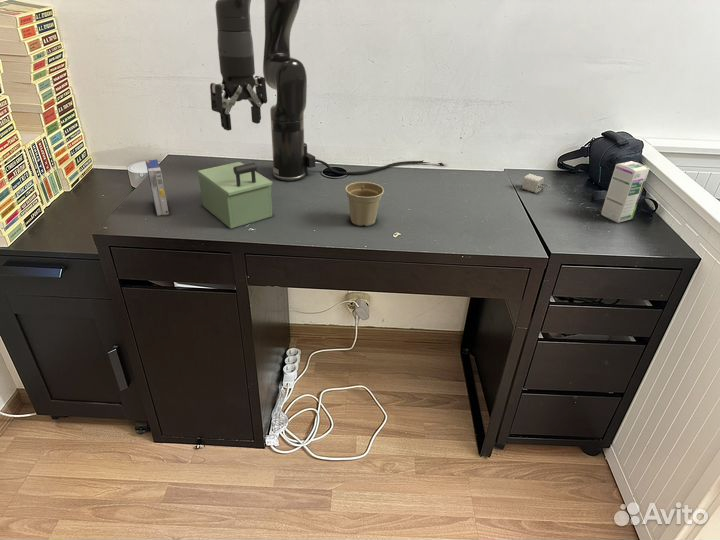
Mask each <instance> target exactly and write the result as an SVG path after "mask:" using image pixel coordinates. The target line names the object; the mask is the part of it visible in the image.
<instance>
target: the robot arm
mask: <svg viewBox="0 0 720 540" xmlns="http://www.w3.org/2000/svg"><path fill="white" fill-rule="evenodd" d="M263 2H264V3H263V4H264V46H263V59H262V74H263V76H261V75H255V74H256V69H255V67H256V66H255V54H254V53H255V52H254V40H253V35H252V27H251V25H252V24H251V12H250V10H251V3H252V0H216V1H215V5H214V7H215V9H214V10H215V18H216V28H217V36H216V37H217V50H218V62H219V63H218V64H219V71H220V75H221V77H222V81H221V83H214V82H211V83H210V85H209V91H210V106H211V111H213V112H215V113H219V117H220V125H221V128H222V129H223V130H225V131H227V132H229V131H232V119H231V114H230V112H231V110H232V109H233V107H234V106H235V105H236V102H241V101H248V102H249V103H250V105H251V106H250V113H251V114H250V115H251V122H252V123H253V124H256V125H257V124H260V123H261V120H262V113H261V108H262V106H263V104H267V103H268V95H267V93H268V92H267V86H268V87H269V88H271V89H272V90H275V91H276V103H275V104H273V105H272V106H271V107H270V109H269V110H270V111H269V114H270V116H269V117H270V133H271V149H272V172H273V173H272V175H273V177H274V178H275V179H277V180H279V181H284V182H293V181H298V180H301V179H304V178H305V176H308V175H309V171H308V169H312V168H315V167H316V163H319V164H322V165H323V166H325V167H326V168H327V169H328V170H329V171H330V172H332V173H335V174H337V175H345V176H349V175H350V176H352V175H365V174H369V173H373V172H378V171H381V170H385V169H388V168H391V167H394V166H399V165H408V164H412V165H413V164H428V163H429V162H423V161H424V160H405V161H397V162H392V163H389V164H386V165H383V166H380V167H375V168H371V169H367V170H360V171H339V170H336V169H333V168H332V167H331V166H330V165H329V164H328V163H327V162H325V161H323V160H321V159H316V155H313V154H311V153H309V152H308V144H307V143H306V142H305V122H304V121H305V119H304V118H305V117H304V116H305V115H304V113H305V110H306V108H307V107H306V106H307V97H308V96H307V95H308V94H307V92H308V77H307V76H308V75H307V70H306V67H305V66H304V64H303V62H302V61H300V60H299V59H297V58H294V57H292V56H291V32H292V28H293V25H294V22H295V20H296V17H297V14H298V11H299V8H300V4H301V0H263ZM254 88H255V91H254ZM437 164H438V165H440V167H445V164H444V163H443V162H441V163H437Z"/></svg>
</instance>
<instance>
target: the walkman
mask: <svg viewBox="0 0 720 540" xmlns="http://www.w3.org/2000/svg"><path fill="white" fill-rule="evenodd" d="M145 166H146V171H147V175H148V181H149V186H150V190H151V197H152V201H153V205H154V208H155V209H154V210H155V212H156V215H157V216H168V215H170V212H169V208H168V207H169V206H168V201H167V196H166V192H165V185H164V180H163V175H162V170H161V166H160V165H159V160H158V159H149V160H147V159H146V160H145Z"/></svg>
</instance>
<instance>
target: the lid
mask: <svg viewBox="0 0 720 540" xmlns="http://www.w3.org/2000/svg"><path fill="white" fill-rule="evenodd" d="M257 167H258V166H257V164H256V163H255V162H249V163H245V164H244V163H243V162H241V161H235V162H231V163H228V164H222V165H219V166H213V167H209V168H204V169H199V170H197V174H200V175H201V176H202V177H204V178H205V179H206V180H208V181H209V182H211V183H212V184H213V185H215V186H216V187H217V188H219V189H220V190H222V191H223V192H224V193H226V194H227V195H228V196H230V195H234V194H238V193H242V192H246V191H250V190H253V189H257V188H261V187H265V186H269V185H271V186H272V185H273V181H272V180H270V179H269V178H267V177H265V176H263V175H262V174H261V173H260V172H257V169H258V168H257Z"/></svg>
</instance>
